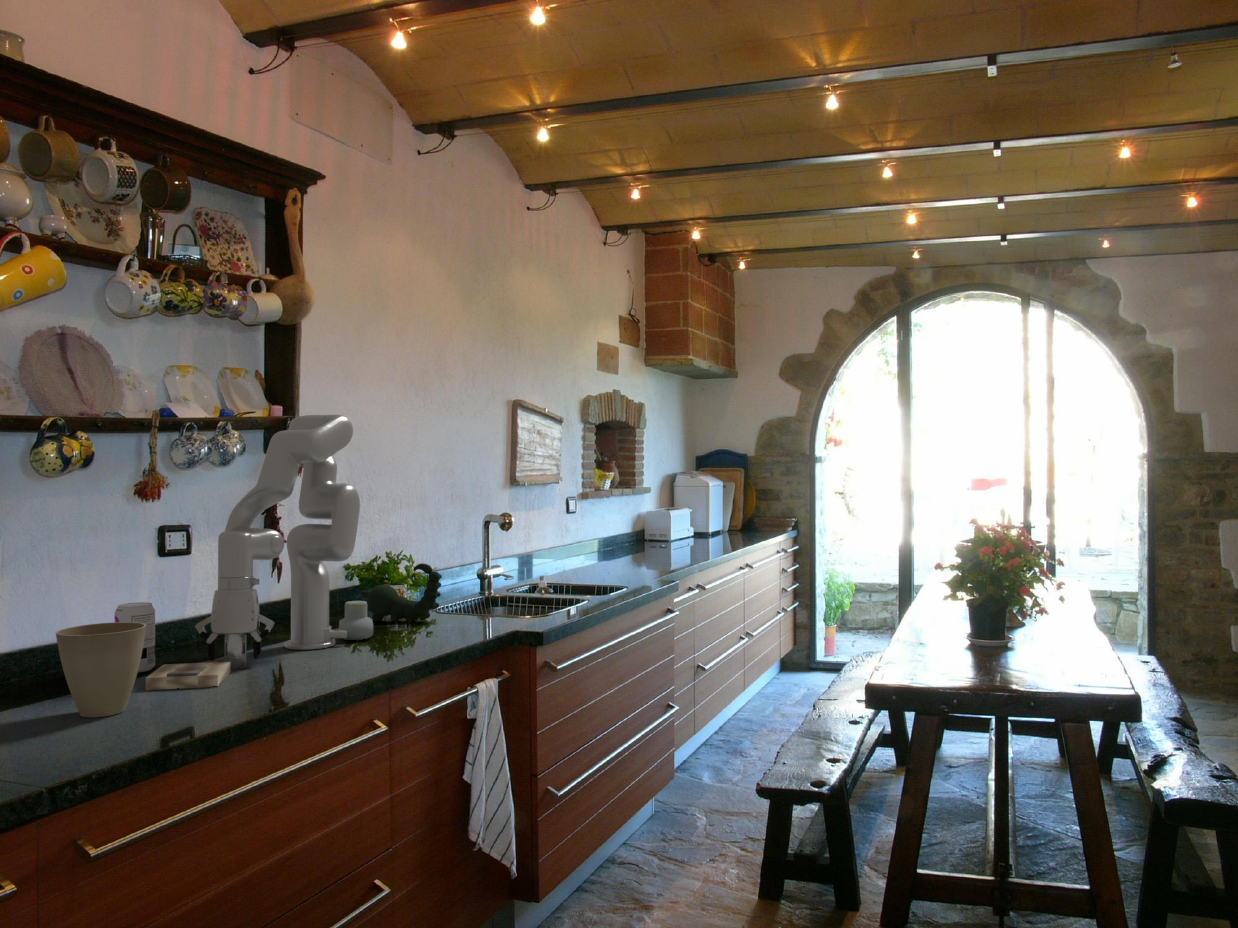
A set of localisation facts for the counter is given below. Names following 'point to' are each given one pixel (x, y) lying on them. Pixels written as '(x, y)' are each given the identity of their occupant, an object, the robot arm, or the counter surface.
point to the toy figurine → (404, 600)
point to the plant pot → (101, 664)
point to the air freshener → (356, 621)
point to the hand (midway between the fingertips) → (235, 658)
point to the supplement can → (145, 615)
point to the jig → (188, 675)
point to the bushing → (235, 650)
